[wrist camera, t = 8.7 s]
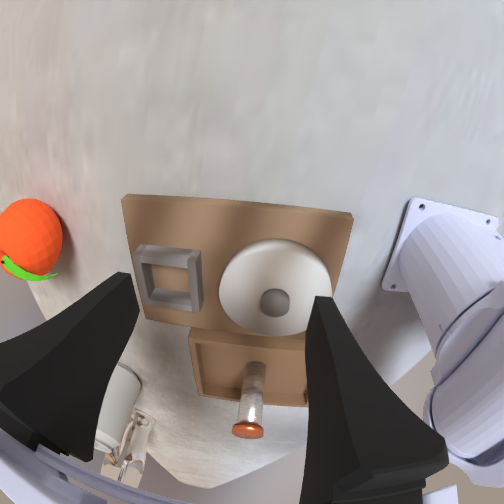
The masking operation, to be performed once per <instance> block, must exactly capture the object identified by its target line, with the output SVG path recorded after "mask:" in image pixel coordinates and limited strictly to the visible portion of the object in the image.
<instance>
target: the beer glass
mask: <svg viewBox="0 0 504 504" xmlns="http://www.w3.org/2000/svg"><path fill="white" fill-rule="evenodd" d="M154 424H155V420H154V419H153V418H152V417H151V416H150V415H148V414H146V413H144V412H142V411H139V410H136V409H132V412H131V415H130V418H129V420H128V423H127V426H126V429H125V431H124V434H123V437H122V440H121V443H120V445H119V446H117V447H114V448H112V452H111V453H107V452H106V455H105V458H104V461H103V465H102V469H101V474H100V475H103V476H105V477H107V478H110V479H112V480H115V481H118V482H120V483H123V484H126V485H129V486H131V487H134V488H137V487H138V485H139V482H140V480H141V477H142V474H143V470H144V466H145V459H146V448H147V440H148V436H149V434H150V432H151V430H152V428H153V426H154Z"/></svg>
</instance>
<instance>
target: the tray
mask: <svg viewBox="0 0 504 504" xmlns="http://www.w3.org/2000/svg"><path fill="white" fill-rule="evenodd" d="M188 342H189V348H190V353H191V359H192V364H193V370H194V375H195V380H196V385H197V390H198V395H199V396H204V397H210V398H216V399H223V400H230V401H238V402H240V399H241V392H242V386H243V379H244V373H245V366H246V364H247V363H248V362H251V361H258V362H262V363H264V364H265V365H266V367H267V369H266V380H265V390H264V400H263V404H265V405H277V406H292V407H309V404H308V390H307V377H306V365H305V340H300V339H288V338H277V337H267V336H257V335H248V334H239V333H231V332H224V331H216V330H209V329H202V328H196V327H191V330H190V333H189V336H188Z"/></svg>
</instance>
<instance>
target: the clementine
mask: <svg viewBox="0 0 504 504" xmlns="http://www.w3.org/2000/svg"><path fill="white" fill-rule="evenodd" d="M61 248H62V228H61V224H60V222H59V219H58V217H57V216H56V214H55V212H54V211H53V210H52V209H51V208H50V207H49V206H48V205H47V204H45V203H43V202H41V201H39V200H36V199H22V200H18V201H16V202H14V203H12V204H11V205H10V206H9V207H8V208H7V209H6V210H5V211H4V212H3V213H2V214H1V215H0V265H1V266H2V268H3V269H4V270H5V271H6V272H7V273H9V274H10V275H12V276H14V277H17V278H19V279H24V280H31V281H41V280H45V279H49V278H51V277H53V276H54V275H56V274H53V275H50V276H43V275H45V274H46V273H47V272H49V271H50V270H51V269H52V267H53V266H54V265H55V263H56V262H57V260H58V258H59V255H60V252H61ZM57 274H58V273H57Z"/></svg>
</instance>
